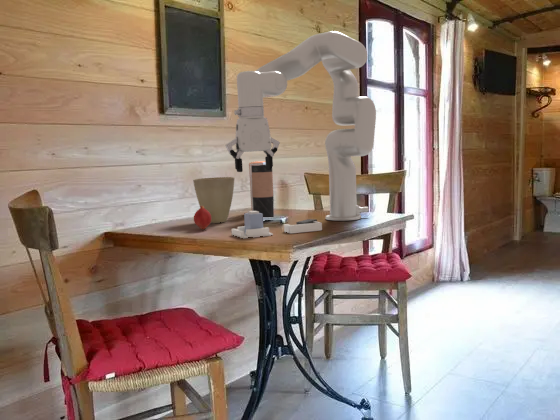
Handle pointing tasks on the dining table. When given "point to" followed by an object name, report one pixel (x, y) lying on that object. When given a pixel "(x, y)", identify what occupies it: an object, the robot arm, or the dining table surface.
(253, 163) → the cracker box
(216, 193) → the plant pot
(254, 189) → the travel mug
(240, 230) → the holder
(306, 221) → the dark grey bar
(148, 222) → the dining table surface
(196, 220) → the onion
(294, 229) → the clip
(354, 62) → the robot arm
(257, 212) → the block
